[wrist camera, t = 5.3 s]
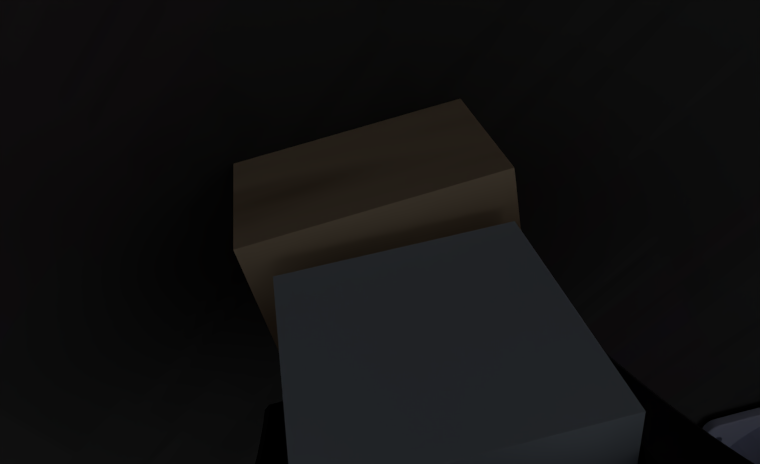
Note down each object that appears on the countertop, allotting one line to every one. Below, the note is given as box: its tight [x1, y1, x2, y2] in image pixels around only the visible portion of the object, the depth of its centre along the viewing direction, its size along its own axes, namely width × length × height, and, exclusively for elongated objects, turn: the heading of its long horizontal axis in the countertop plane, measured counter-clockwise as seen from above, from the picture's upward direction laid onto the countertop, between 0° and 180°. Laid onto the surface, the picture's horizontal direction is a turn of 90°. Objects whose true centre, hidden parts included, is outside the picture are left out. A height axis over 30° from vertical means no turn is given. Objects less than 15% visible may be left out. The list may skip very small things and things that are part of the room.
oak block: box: [233, 99, 521, 351], centre depth 16 cm, size 6×6×4 cm
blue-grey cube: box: [273, 221, 646, 464], centre depth 12 cm, size 5×5×5 cm
